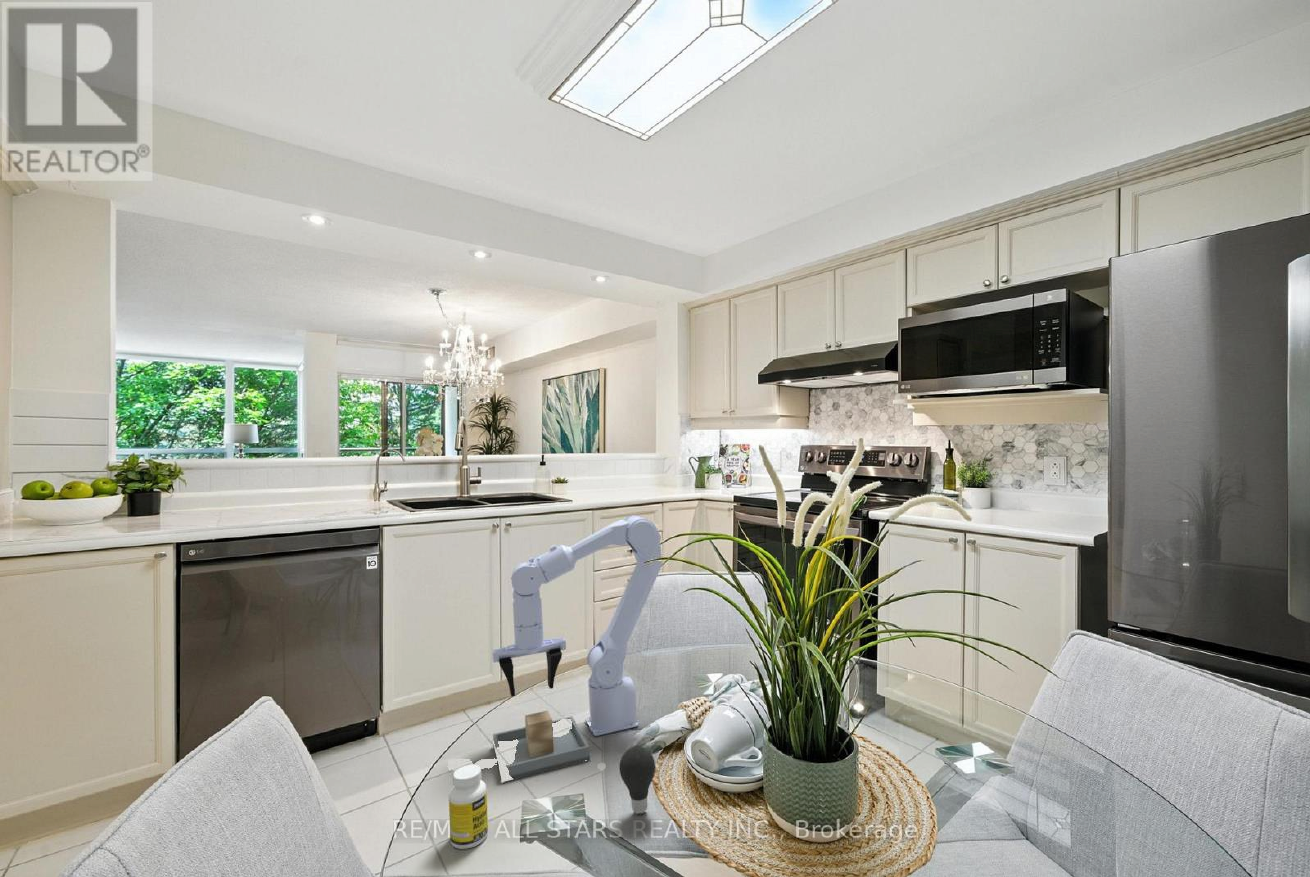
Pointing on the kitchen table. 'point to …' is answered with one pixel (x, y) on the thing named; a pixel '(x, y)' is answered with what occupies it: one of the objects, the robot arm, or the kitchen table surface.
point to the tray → (565, 753)
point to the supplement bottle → (468, 808)
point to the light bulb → (637, 775)
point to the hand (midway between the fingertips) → (531, 690)
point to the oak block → (539, 733)
